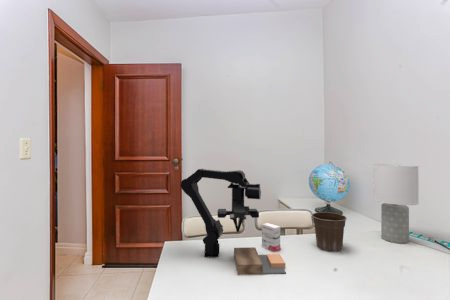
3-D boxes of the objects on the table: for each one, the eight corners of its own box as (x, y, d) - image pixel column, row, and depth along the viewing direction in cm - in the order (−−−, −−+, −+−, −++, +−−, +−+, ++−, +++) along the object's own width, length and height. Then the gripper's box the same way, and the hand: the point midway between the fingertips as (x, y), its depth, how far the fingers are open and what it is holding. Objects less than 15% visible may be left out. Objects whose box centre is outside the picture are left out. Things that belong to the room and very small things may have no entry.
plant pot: (325, 255, 114) (325, 221, 114) (305, 242, 130) (305, 212, 130) (354, 252, 118) (354, 219, 118) (332, 240, 133) (332, 211, 133)
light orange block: (285, 263, 101) (285, 267, 101) (279, 253, 110) (279, 258, 110) (271, 263, 100) (271, 268, 100) (266, 254, 109) (266, 258, 109)
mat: (262, 274, 96) (262, 273, 96) (255, 255, 113) (255, 254, 113) (286, 273, 97) (286, 272, 97) (275, 255, 114) (275, 254, 114)
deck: (237, 274, 96) (237, 264, 96) (233, 256, 113) (233, 247, 113) (262, 274, 96) (262, 264, 96) (255, 255, 113) (255, 247, 113)
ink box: (280, 249, 120) (280, 226, 121) (274, 252, 117) (274, 228, 117) (267, 244, 127) (267, 222, 127) (261, 247, 124) (261, 224, 124)
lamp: (368, 239, 135) (368, 165, 135) (379, 231, 149) (379, 163, 149) (414, 250, 120) (414, 166, 120) (421, 240, 134) (421, 165, 134)
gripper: (218, 201, 103) (217, 238, 103) (261, 201, 104) (261, 238, 104) (217, 196, 114) (217, 229, 114) (256, 196, 115) (256, 229, 115)
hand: (237, 231), depth 111 cm, fingers closed
